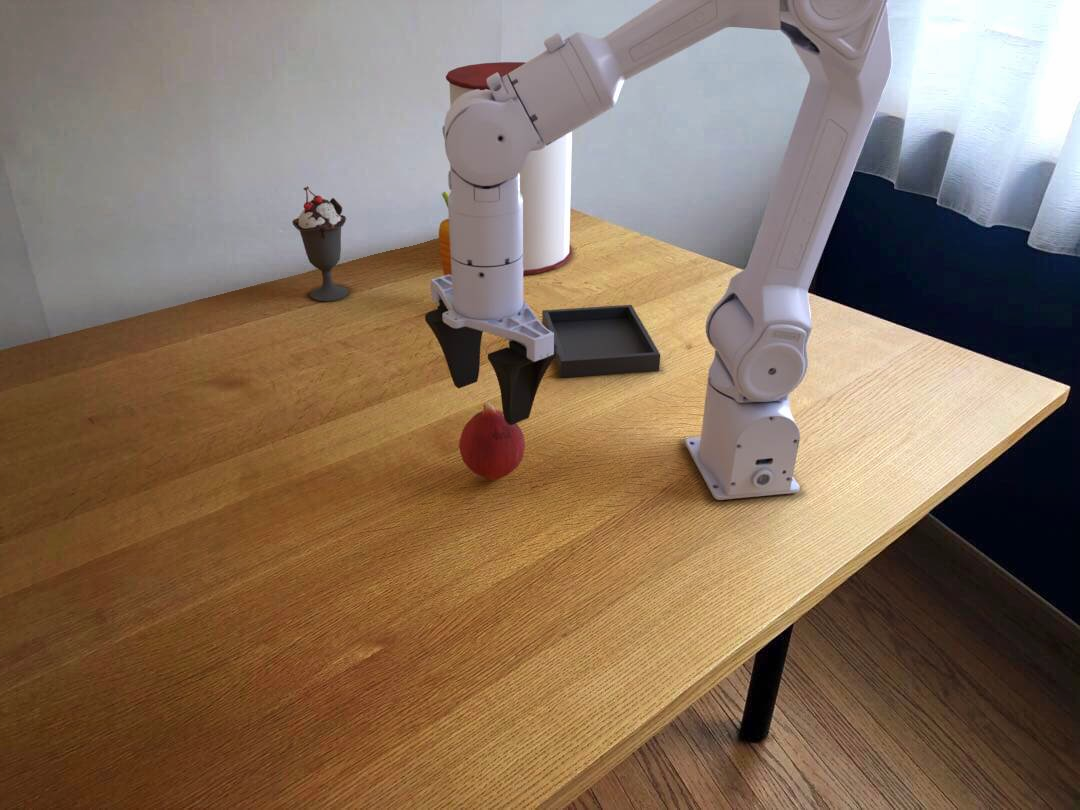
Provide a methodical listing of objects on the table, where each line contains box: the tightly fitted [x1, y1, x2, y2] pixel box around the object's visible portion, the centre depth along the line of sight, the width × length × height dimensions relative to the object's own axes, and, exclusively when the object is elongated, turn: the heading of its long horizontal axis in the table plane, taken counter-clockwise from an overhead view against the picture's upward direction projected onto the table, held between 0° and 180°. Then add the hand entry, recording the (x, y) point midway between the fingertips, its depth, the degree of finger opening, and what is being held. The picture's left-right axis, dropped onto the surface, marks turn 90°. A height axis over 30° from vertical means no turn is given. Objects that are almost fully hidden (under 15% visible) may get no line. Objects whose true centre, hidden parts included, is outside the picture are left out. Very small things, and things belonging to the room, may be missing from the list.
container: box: [445, 61, 573, 276], centre depth 120 cm, size 17×17×25 cm
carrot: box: [438, 191, 452, 276], centre depth 107 cm, size 5×5×15 cm
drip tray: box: [541, 304, 661, 379], centre depth 101 cm, size 13×11×2 cm
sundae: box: [291, 185, 349, 303], centre depth 110 cm, size 7×7×15 cm
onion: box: [458, 402, 526, 481], centre depth 77 cm, size 6×6×8 cm
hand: (490, 401), depth 75 cm, fingers open, 7 cm apart
